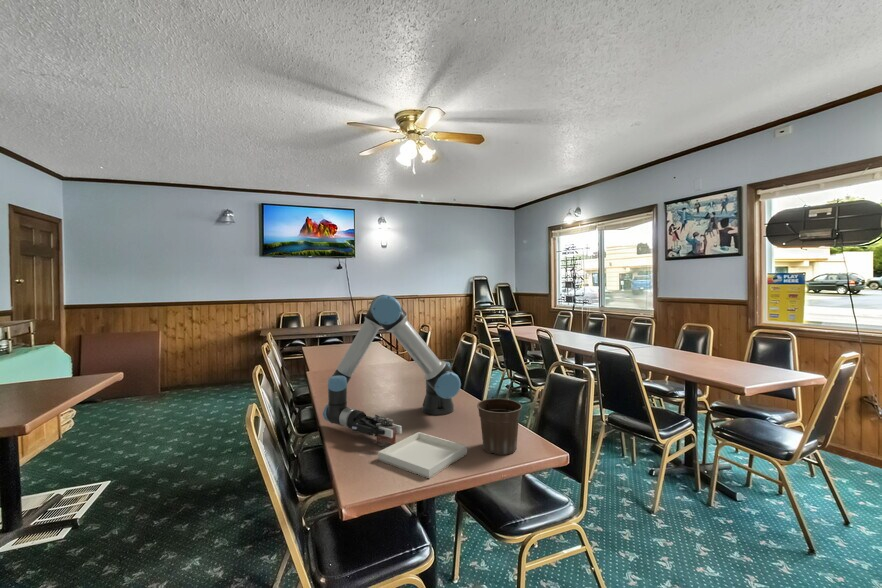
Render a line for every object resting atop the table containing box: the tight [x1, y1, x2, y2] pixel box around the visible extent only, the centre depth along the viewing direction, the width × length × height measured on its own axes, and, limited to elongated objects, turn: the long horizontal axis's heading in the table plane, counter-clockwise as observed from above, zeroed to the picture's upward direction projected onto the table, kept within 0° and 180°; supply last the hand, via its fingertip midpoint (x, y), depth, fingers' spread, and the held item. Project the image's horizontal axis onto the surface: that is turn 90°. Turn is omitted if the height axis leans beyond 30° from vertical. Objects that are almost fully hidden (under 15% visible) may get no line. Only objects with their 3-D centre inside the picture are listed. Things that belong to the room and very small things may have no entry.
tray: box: [377, 431, 468, 479], centre depth 134 cm, size 22×22×3 cm
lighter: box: [375, 417, 397, 448], centre depth 145 cm, size 8×3×10 cm, turn 71°
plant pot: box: [476, 398, 523, 456], centre depth 141 cm, size 16×16×16 cm
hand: (396, 431), depth 142 cm, fingers closed on lighter, 4 cm apart
